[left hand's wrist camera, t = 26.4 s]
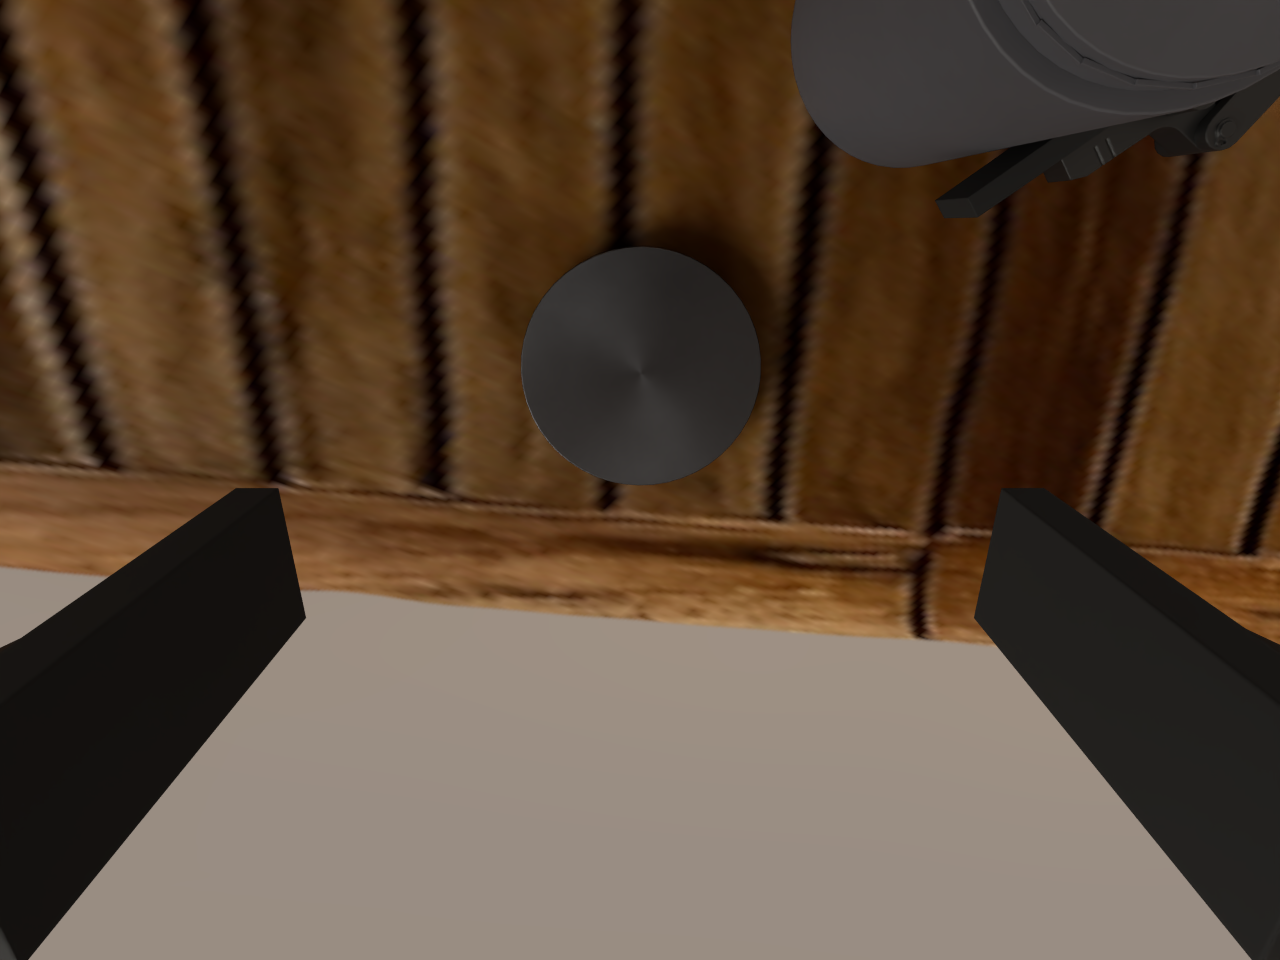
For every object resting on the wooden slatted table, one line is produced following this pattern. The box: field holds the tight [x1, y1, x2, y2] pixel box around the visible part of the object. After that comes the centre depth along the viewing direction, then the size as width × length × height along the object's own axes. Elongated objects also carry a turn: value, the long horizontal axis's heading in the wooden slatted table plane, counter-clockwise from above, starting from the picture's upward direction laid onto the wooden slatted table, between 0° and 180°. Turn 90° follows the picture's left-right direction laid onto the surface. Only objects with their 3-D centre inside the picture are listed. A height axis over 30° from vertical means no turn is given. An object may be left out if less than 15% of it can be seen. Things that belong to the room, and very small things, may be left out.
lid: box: [521, 246, 761, 485], centre depth 32 cm, size 11×11×2 cm
